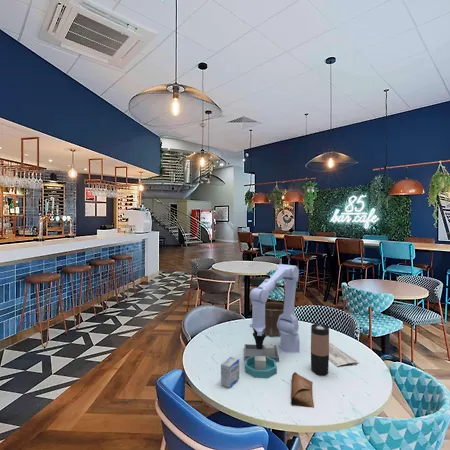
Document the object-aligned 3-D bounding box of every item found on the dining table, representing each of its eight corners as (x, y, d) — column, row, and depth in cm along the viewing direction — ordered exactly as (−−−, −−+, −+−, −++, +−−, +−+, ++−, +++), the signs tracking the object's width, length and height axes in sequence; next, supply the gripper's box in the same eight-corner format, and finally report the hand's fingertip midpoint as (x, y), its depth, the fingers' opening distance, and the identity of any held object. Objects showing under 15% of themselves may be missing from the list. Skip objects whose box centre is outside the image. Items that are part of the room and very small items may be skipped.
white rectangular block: (265, 367, 128) (265, 356, 128) (265, 371, 124) (265, 360, 124) (254, 366, 129) (254, 356, 128) (254, 371, 125) (254, 360, 124)
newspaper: (361, 365, 132) (360, 360, 132) (337, 371, 130) (337, 365, 130) (332, 344, 154) (332, 339, 154) (312, 348, 152) (311, 344, 152)
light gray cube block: (271, 352, 142) (271, 343, 142) (274, 356, 138) (274, 347, 138) (263, 353, 142) (263, 344, 142) (266, 357, 138) (266, 348, 138)
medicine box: (229, 388, 113) (230, 367, 113) (220, 385, 115) (220, 363, 115) (239, 379, 119) (239, 358, 119) (230, 376, 122) (230, 356, 122)
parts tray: (276, 350, 146) (276, 345, 146) (279, 362, 133) (279, 357, 133) (244, 348, 147) (244, 344, 147) (244, 361, 134) (244, 356, 134)
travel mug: (319, 378, 121) (320, 331, 120) (306, 369, 127) (307, 325, 127) (332, 373, 124) (333, 328, 124) (319, 365, 131) (319, 322, 130)
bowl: (274, 363, 133) (274, 356, 133) (277, 379, 119) (277, 371, 119) (245, 362, 134) (245, 355, 134) (245, 378, 120) (245, 370, 120)
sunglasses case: (315, 408, 101) (305, 391, 101) (298, 415, 102) (288, 398, 103) (312, 381, 118) (304, 366, 119) (297, 387, 120) (289, 372, 120)
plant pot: (259, 327, 178) (259, 301, 178) (286, 328, 176) (286, 302, 175) (259, 337, 162) (259, 309, 161) (288, 339, 159) (288, 310, 159)
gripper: (249, 310, 136) (249, 338, 136) (250, 320, 121) (250, 352, 121) (264, 310, 135) (264, 338, 135) (267, 321, 121) (266, 352, 121)
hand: (258, 345), depth 128 cm, fingers open, 7 cm apart
